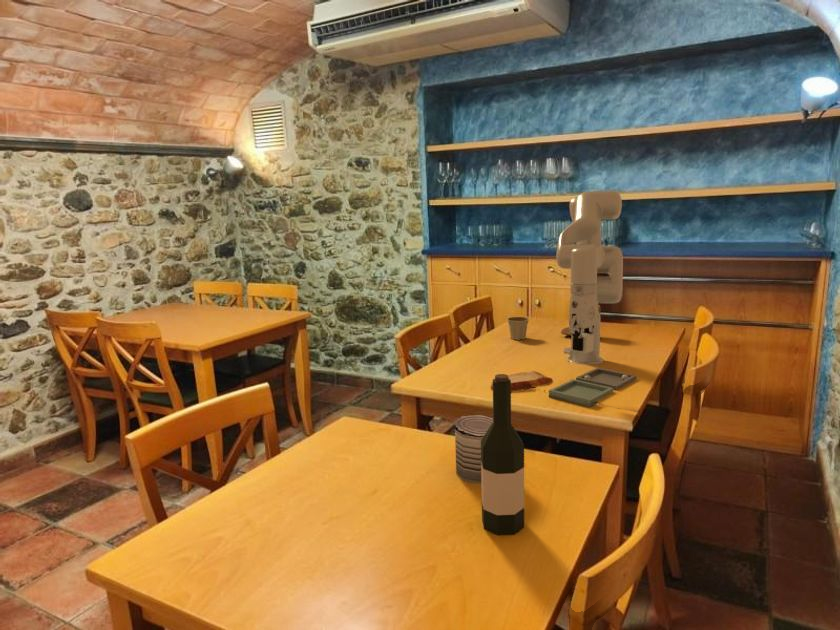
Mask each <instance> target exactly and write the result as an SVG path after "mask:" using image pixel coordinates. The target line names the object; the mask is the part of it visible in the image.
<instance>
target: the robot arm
mask: <svg viewBox="0 0 840 630" xmlns="http://www.w3.org/2000/svg"><path fill="white" fill-rule="evenodd" d="M622 206H623V202H622V197H621V194H620V193H619V192H618V191H616V190H592V191H591V190H590V191H584V192H582V193H580V194H579V195H578V196H575V197H573V198H572V199H571V200H570V201H569V214H570V217H571V218H570V219H571V221H572V223H571V224H569V225H568V226H567V227H565V229H564V230H562V231H561V233H560V235H559V237H558V239H557V245H556V256H555V257H556V259H555V261H556V264H557V265H558V267H560V268H561V269H567V270H570V288H569V289H570V299H569V308H568V326H569V329H568V330H569V331H570V332H571V334H572V337H573V350H577V351H583V338H582V333H588V334H594V349H593V351H591V352H588V353H581V352H575V351H571V347H567V346H565V347H564V350H563V354H566V355H569V357H568V358H567V362H568V363H573V364H577V365H587V366H588V365H598V364H602V363H604V361H605V360H604V358H602V356H600V348H601V345H600V344H601V340H600V339H601V313H599V311H598V305H599V304H617V303H620V301H621V300H622V297H623V287H624V286H623V285H624V283H623V280H624V279H623V277H624V258H623V257H624V256H623V252H622V249H621V248H620V247H618V246H615V245H613V246H612V245H609V246H608V245H602V232H601V229H602V221H603V220H616V219H617V220H618V218H619V217H620V215H621V213H622ZM598 274H607V275H608V276H598Z"/></svg>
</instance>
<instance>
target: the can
mask: <svg viewBox="0 0 840 630" xmlns="http://www.w3.org/2000/svg"><path fill="white" fill-rule="evenodd" d="M452 423H453V424H454V426H455V429H454V434H455V435H454V440H455V441H454V442H455V474H456V476H458V477H459V478H460V479H461V480H462V481H464V482H470V483H475V484H478V485H479V484H481V440H482V438H483V437H484V435H485V434H486V432H487V431H488V429H489V428H490V426H491V424H492V423H493V417H489V416H485V415H482V414H480V415H479V414H478V415H477V414H476V415H462V416H460V417H459V418H457V419H455V420H454V421H453V422H452Z"/></svg>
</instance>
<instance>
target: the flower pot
mask: <svg viewBox="0 0 840 630" xmlns="http://www.w3.org/2000/svg"><path fill="white" fill-rule="evenodd" d="M506 320H507V322H508V323H507V324H508V327H509V331H510V339H512V340H513V339H515V340H514V341H520V340H522V339H523V340H525V339H526V338H527V330H528V324H529V321H530V318H529V317H526V316H511V317H508V318H506Z"/></svg>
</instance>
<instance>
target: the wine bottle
mask: <svg viewBox="0 0 840 630" xmlns="http://www.w3.org/2000/svg"><path fill="white" fill-rule="evenodd" d="M508 375H509V374H504V373H497V374H496V375H494V378H493V379H492V382H493V390H492V418H493V423H492V424H491V426H490V428H489V429H488V431H487V432H486V434H485V435H484V437H483V438H482V440H481V483H480V484H481V485H480V486H481V522H482V525H483V530H484V531H487V532H489V533H492V534H493V535H496V536H515V535H516V534H517V533H520V531H522V529H524V528H525V445H524V443H523V440H522V438H521V437H520V436H519V433H518V432H517V431H516V429H515V427H514V426H513V423H512V391H511V381H510V379H508Z"/></svg>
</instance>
